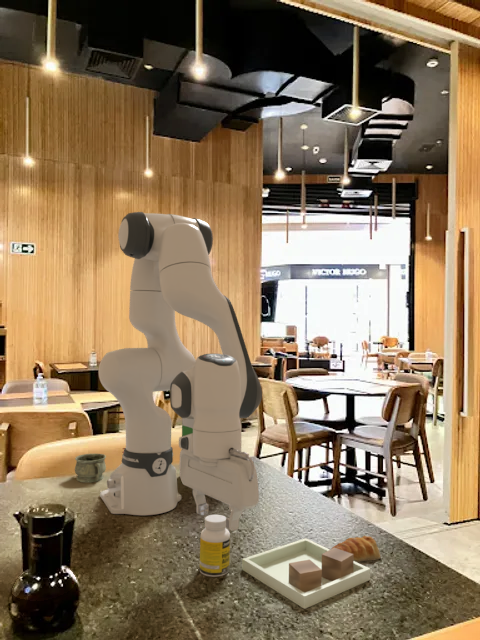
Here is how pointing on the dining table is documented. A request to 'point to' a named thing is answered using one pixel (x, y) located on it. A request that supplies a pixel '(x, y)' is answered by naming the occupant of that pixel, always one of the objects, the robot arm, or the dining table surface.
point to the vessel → (90, 467)
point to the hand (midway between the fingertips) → (216, 521)
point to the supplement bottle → (214, 546)
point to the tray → (276, 561)
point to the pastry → (360, 548)
